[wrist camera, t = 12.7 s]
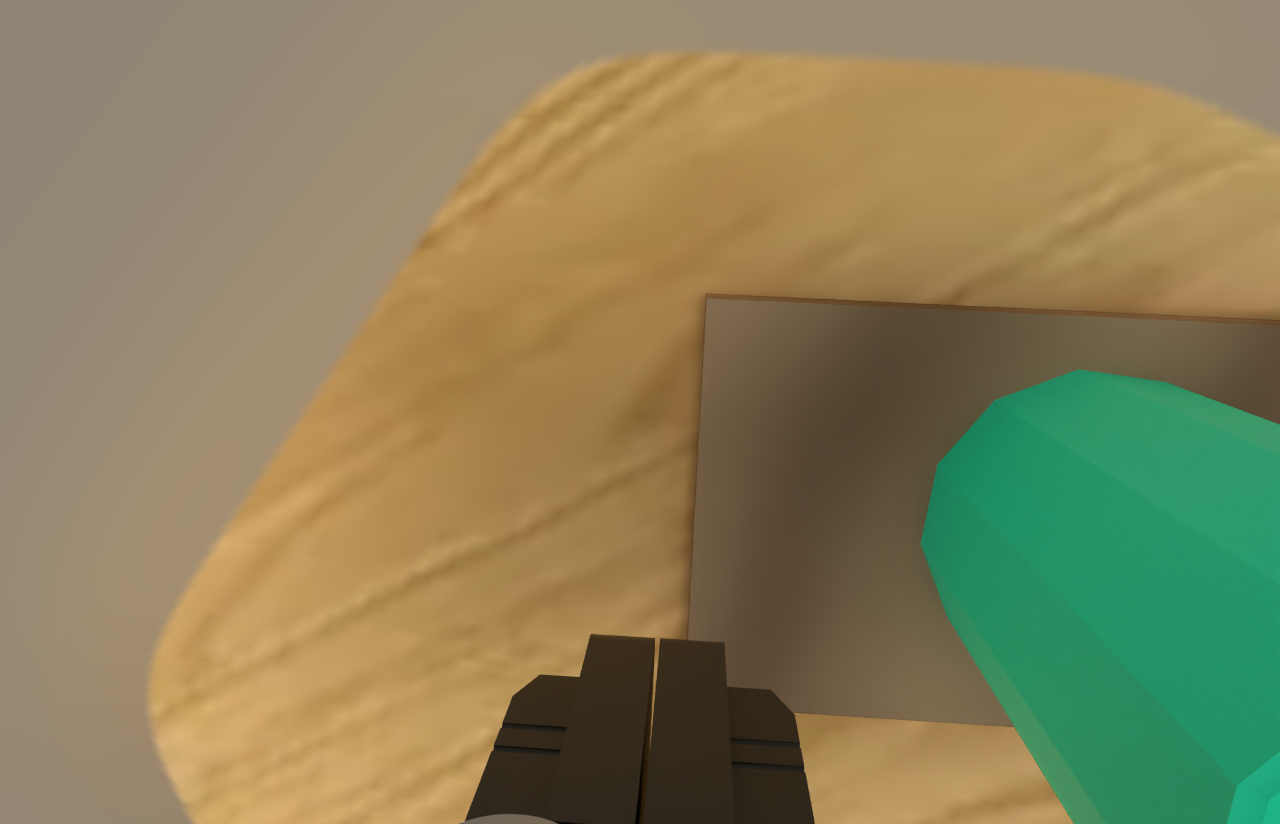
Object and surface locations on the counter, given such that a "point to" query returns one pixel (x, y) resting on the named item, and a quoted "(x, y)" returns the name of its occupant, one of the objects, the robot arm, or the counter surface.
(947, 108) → the counter surface
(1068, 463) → the candle
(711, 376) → the board
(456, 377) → the counter surface
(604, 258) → the counter surface
